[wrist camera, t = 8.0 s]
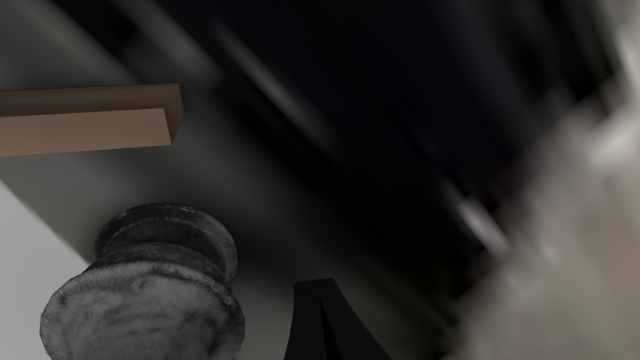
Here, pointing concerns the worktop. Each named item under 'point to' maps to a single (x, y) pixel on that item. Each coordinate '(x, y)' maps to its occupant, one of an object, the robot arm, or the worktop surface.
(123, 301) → the grey stone vase
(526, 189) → the worktop surface
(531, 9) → the worktop surface
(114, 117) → the walnut corral
